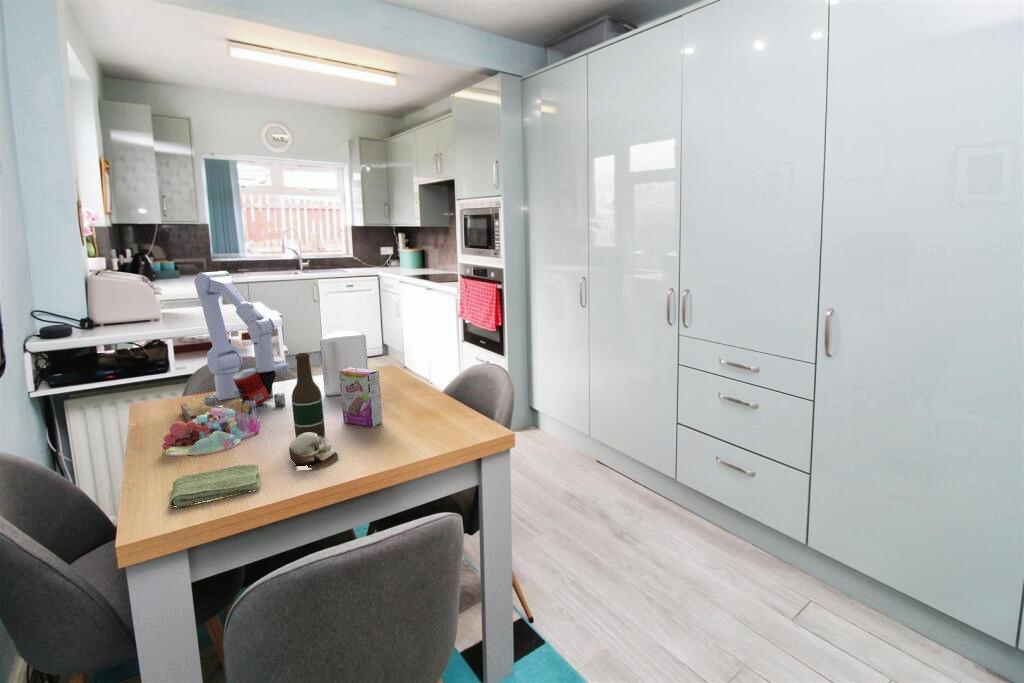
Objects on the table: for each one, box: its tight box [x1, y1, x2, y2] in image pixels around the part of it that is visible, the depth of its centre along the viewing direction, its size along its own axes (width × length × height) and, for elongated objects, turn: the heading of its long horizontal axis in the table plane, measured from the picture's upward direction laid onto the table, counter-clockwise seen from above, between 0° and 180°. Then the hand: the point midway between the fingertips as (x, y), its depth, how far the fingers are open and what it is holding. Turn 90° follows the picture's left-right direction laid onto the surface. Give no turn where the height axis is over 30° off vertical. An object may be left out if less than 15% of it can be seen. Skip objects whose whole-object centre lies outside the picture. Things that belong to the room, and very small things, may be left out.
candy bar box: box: [339, 367, 383, 428], centre depth 161 cm, size 11×5×16 cm, turn 65°
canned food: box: [233, 366, 270, 407], centre depth 181 cm, size 8×8×11 cm
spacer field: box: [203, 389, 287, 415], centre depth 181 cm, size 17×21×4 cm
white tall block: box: [319, 330, 369, 397], centre depth 196 cm, size 15×14×22 cm
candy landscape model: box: [161, 399, 261, 457], centre depth 153 cm, size 25×24×9 cm
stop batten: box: [180, 403, 197, 422], centre depth 170 cm, size 16×2×3 cm, turn 40°
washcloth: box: [168, 463, 261, 508], centre depth 122 cm, size 13×18×3 cm
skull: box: [288, 432, 338, 471], centre depth 136 cm, size 12×10×10 cm
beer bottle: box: [291, 352, 326, 439], centre depth 150 cm, size 8×8×24 cm
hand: (269, 393), depth 185 cm, fingers closed, pressing on canned food
